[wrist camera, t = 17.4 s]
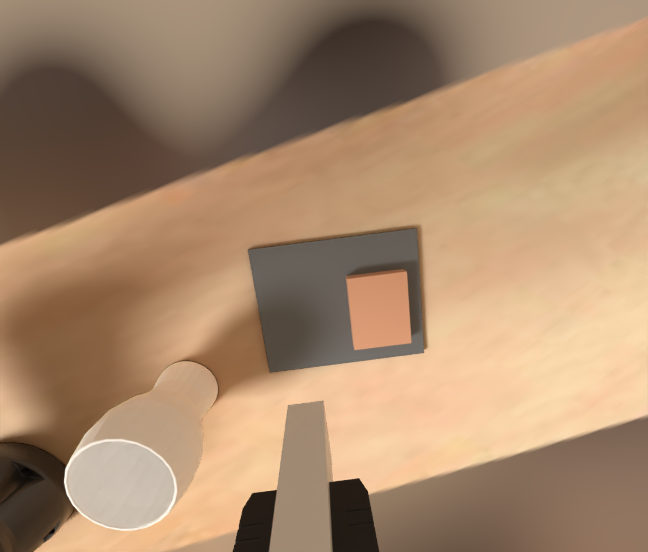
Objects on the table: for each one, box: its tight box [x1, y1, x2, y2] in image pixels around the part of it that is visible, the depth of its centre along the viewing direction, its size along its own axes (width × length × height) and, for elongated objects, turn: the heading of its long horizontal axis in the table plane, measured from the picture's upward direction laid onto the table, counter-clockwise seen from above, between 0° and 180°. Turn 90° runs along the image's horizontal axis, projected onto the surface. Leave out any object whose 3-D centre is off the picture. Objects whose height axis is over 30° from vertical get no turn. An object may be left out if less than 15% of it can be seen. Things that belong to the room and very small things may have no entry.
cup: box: [64, 361, 218, 530], centre depth 35 cm, size 11×11×15 cm
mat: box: [248, 228, 424, 373], centre depth 40 cm, size 20×16×1 cm
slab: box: [346, 269, 411, 350], centre depth 39 cm, size 2×9×7 cm
